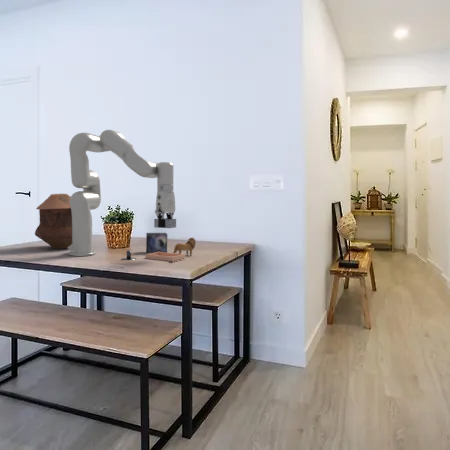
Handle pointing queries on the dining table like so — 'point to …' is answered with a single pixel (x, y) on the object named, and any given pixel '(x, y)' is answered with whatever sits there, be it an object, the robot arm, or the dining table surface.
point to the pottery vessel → (55, 221)
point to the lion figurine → (185, 246)
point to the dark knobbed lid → (128, 256)
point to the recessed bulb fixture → (166, 223)
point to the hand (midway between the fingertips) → (165, 226)
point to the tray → (165, 256)
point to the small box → (156, 242)
